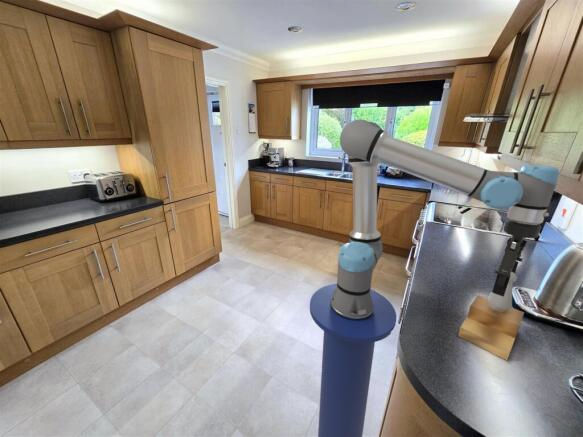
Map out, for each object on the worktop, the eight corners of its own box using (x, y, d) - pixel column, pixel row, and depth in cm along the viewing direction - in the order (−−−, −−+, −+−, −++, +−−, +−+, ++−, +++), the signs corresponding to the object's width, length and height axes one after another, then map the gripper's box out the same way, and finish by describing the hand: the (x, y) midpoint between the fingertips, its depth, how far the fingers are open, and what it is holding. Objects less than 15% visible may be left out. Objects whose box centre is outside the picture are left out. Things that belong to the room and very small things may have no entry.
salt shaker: (511, 316, 74) (523, 279, 70) (487, 310, 77) (498, 273, 73) (507, 306, 78) (518, 270, 75) (485, 300, 81) (494, 265, 77)
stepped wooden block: (458, 335, 77) (463, 314, 74) (472, 314, 87) (477, 294, 84) (507, 360, 68) (515, 337, 66) (517, 333, 78) (524, 312, 76)
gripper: (536, 234, 58) (510, 308, 65) (546, 216, 74) (525, 277, 80) (497, 226, 64) (477, 295, 70) (514, 211, 79) (496, 268, 86)
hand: (502, 285), depth 75 cm, fingers open, 13 cm apart
